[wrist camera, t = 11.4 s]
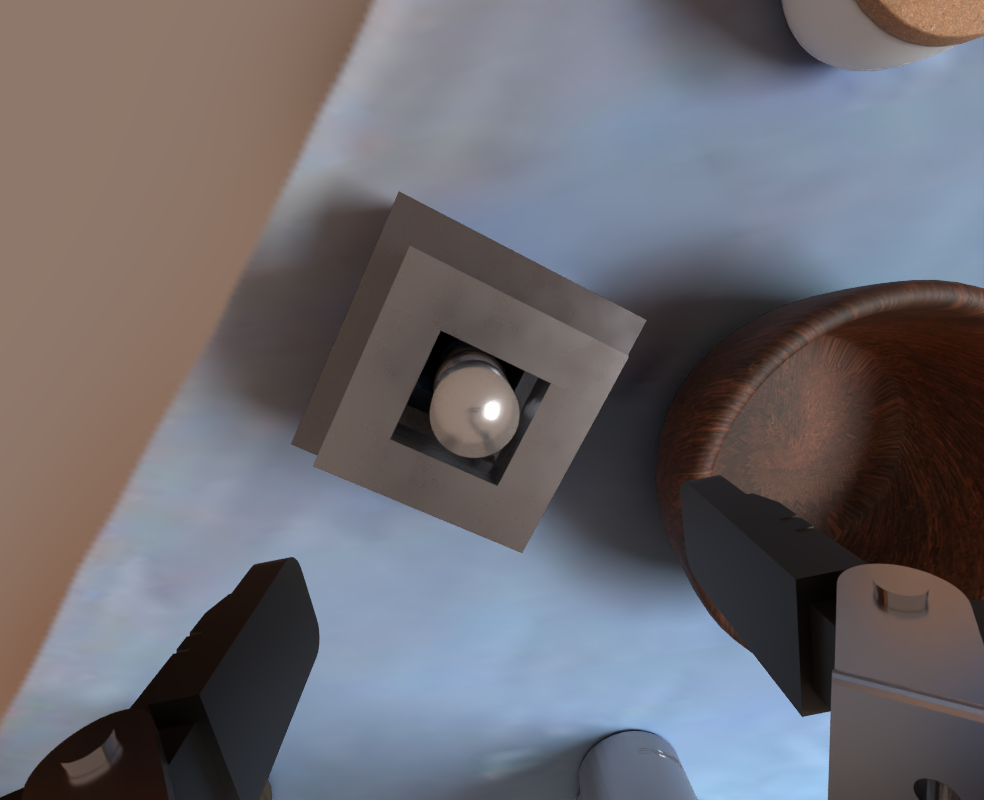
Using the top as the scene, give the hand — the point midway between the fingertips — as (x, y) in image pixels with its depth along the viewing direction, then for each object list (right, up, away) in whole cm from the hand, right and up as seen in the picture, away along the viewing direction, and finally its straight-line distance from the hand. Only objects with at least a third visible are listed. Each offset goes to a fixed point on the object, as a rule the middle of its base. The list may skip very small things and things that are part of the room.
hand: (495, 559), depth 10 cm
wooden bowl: (+23, 0, +29) cm, 37 cm away
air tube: (-2, +6, +26) cm, 26 cm away
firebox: (-2, +6, +26) cm, 26 cm away
